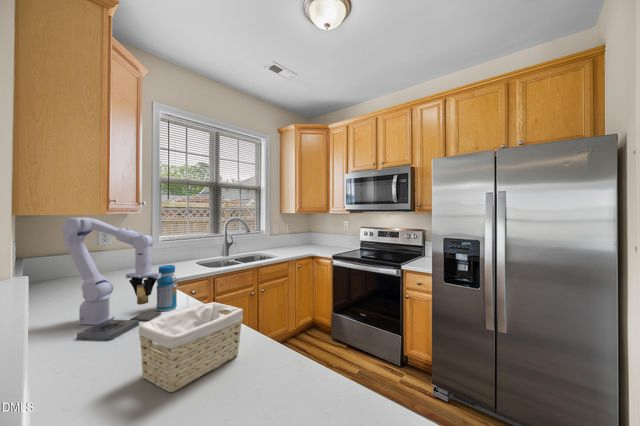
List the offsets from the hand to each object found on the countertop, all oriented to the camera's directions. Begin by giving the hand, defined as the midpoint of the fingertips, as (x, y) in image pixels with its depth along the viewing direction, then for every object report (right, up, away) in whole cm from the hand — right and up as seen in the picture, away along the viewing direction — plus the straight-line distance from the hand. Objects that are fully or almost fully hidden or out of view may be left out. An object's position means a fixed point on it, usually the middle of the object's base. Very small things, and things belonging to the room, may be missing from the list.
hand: (143, 295), depth 114 cm
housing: (-4, -10, -13) cm, 17 cm away
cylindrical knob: (0, -3, 0) cm, 3 cm away
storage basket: (+39, -10, -36) cm, 54 cm away
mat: (0, -10, +1) cm, 10 cm away
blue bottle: (+3, -10, +12) cm, 16 cm away
